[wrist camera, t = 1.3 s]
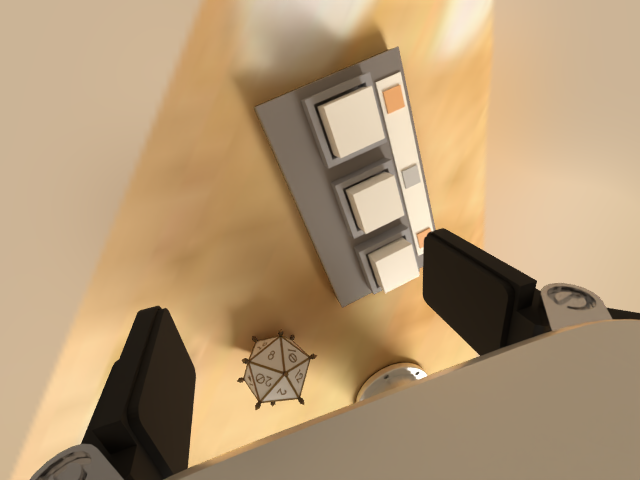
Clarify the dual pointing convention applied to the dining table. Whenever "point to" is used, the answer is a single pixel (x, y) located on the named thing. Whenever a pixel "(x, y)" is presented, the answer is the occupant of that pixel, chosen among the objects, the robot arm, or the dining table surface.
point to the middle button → (375, 202)
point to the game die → (276, 369)
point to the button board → (350, 170)
